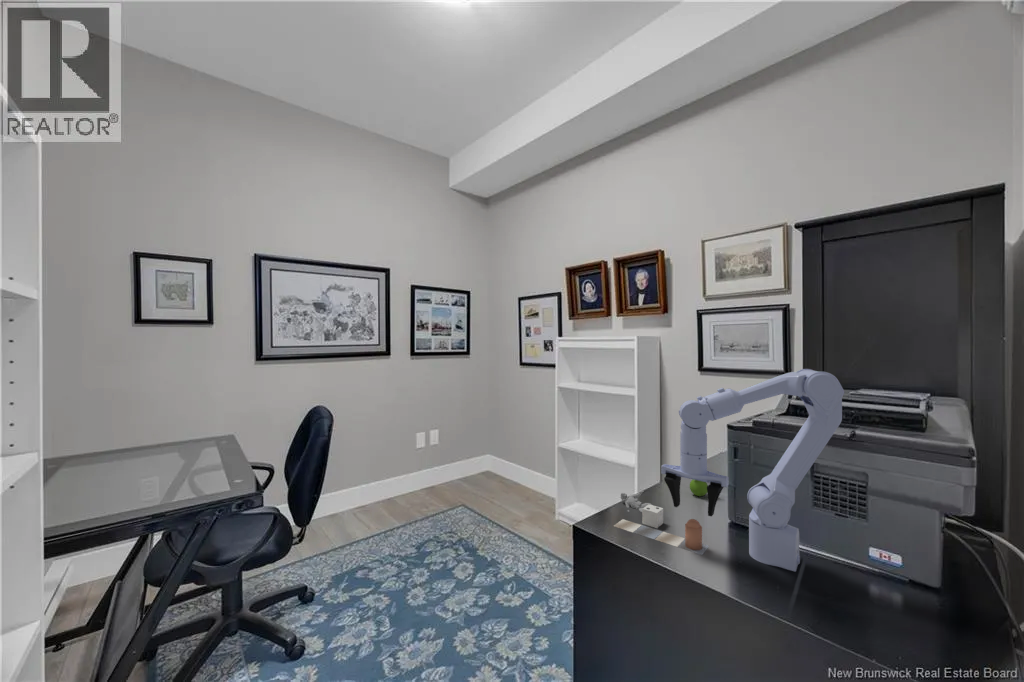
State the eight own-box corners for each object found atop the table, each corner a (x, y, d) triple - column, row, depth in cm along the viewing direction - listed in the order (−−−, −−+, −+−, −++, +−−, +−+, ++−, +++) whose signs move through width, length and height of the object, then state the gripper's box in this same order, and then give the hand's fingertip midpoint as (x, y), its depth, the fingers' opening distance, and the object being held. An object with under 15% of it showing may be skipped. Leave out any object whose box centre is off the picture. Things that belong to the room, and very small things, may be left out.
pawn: (704, 545, 96) (704, 519, 96) (699, 551, 94) (699, 524, 94) (688, 541, 99) (688, 514, 99) (683, 546, 96) (683, 519, 96)
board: (717, 540, 101) (717, 537, 101) (702, 560, 92) (702, 556, 92) (631, 515, 115) (631, 512, 115) (610, 530, 106) (610, 526, 106)
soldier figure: (647, 526, 111) (611, 500, 119) (650, 532, 114) (614, 506, 123) (663, 503, 113) (626, 479, 122) (665, 509, 117) (629, 486, 125)
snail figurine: (683, 492, 132) (683, 455, 132) (702, 492, 133) (702, 455, 133) (692, 499, 127) (692, 460, 127) (711, 498, 128) (712, 460, 128)
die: (663, 523, 109) (663, 507, 109) (657, 528, 106) (657, 512, 106) (648, 519, 111) (648, 503, 111) (642, 523, 108) (642, 508, 108)
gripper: (732, 454, 94) (732, 513, 94) (668, 443, 104) (668, 497, 104) (723, 461, 89) (723, 523, 89) (657, 449, 99) (657, 505, 99)
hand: (693, 510), depth 96 cm, fingers open, 7 cm apart
